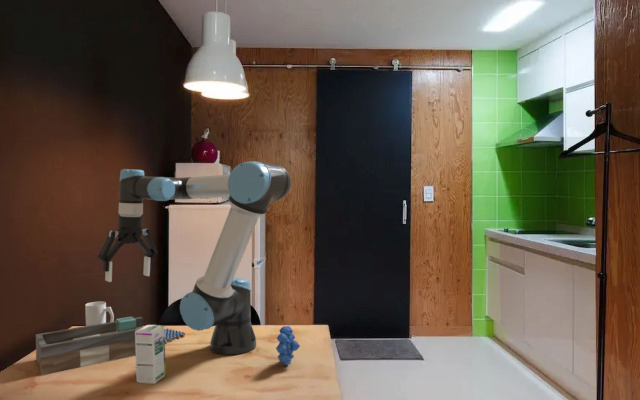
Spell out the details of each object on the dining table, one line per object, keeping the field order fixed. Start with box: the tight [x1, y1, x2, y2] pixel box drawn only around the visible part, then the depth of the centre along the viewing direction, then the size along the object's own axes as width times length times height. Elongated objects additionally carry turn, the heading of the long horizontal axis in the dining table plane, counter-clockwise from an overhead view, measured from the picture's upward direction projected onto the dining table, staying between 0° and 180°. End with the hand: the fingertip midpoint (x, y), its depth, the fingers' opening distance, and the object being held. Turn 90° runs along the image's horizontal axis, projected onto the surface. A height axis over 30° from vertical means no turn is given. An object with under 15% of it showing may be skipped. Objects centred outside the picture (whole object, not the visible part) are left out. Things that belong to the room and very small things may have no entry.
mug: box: [84, 301, 115, 326], centre depth 166 cm, size 10×7×12 cm, turn 85°
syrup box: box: [135, 324, 167, 385], centre depth 128 cm, size 6×6×14 cm
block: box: [115, 316, 136, 332], centre depth 153 cm, size 5×5×5 cm
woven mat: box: [164, 328, 186, 344], centre depth 165 cm, size 10×11×2 cm
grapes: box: [275, 325, 301, 366], centre depth 138 cm, size 12×7×12 cm, turn 166°
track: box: [35, 316, 144, 376], centre depth 147 cm, size 15×32×8 cm, turn 127°
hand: (128, 278), depth 155 cm, fingers open, 13 cm apart
